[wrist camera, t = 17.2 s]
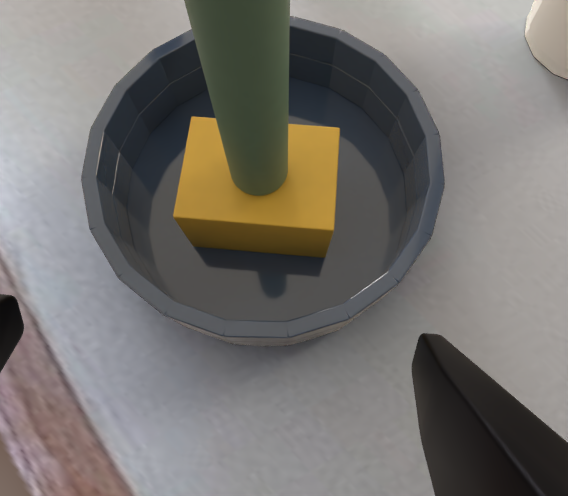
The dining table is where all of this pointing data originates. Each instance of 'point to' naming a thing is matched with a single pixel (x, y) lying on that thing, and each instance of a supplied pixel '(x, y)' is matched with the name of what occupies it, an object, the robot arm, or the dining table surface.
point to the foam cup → (549, 34)
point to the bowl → (257, 265)
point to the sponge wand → (253, 141)
